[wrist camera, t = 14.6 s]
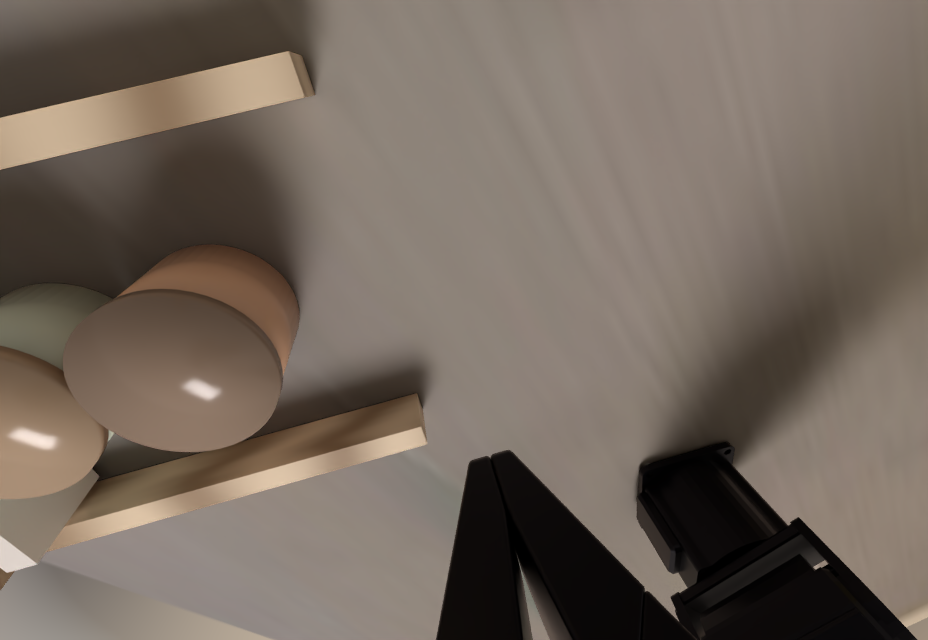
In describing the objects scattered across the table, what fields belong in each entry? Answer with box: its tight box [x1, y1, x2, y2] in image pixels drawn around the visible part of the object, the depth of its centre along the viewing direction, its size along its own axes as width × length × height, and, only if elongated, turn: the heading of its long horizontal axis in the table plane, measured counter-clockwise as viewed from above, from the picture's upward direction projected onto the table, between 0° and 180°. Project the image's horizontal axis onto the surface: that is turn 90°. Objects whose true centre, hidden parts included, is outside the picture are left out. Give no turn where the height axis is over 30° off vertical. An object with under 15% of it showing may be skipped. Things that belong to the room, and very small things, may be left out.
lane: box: [0, 51, 427, 590], centre depth 16 cm, size 21×16×5 cm
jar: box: [63, 244, 300, 452], centre depth 16 cm, size 6×6×5 cm
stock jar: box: [0, 283, 114, 499], centre depth 16 cm, size 6×6×5 cm
